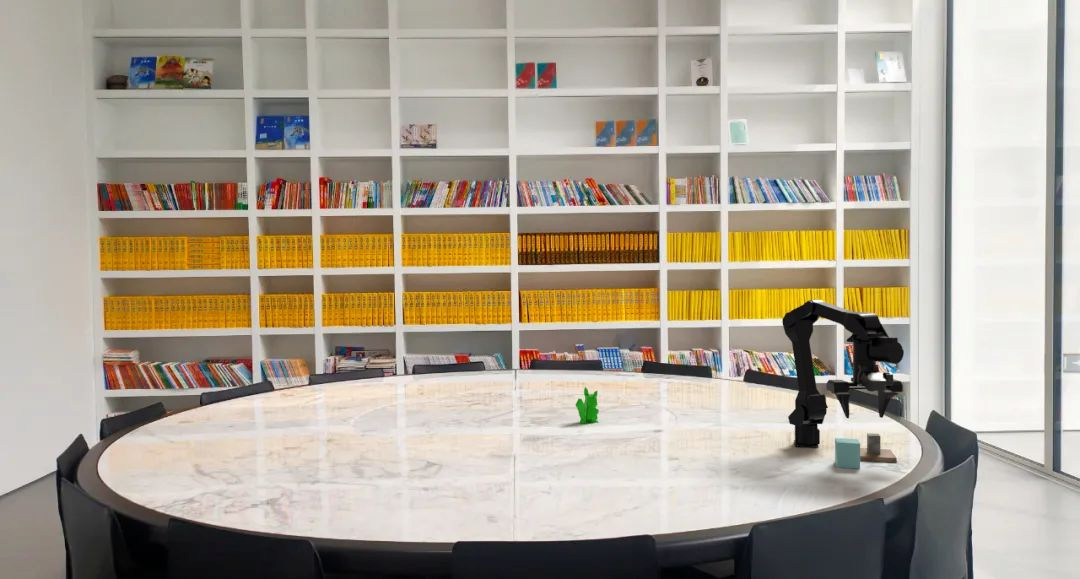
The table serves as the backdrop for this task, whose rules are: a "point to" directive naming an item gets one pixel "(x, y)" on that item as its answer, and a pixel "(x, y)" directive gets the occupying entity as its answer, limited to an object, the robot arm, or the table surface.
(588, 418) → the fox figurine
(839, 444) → the teal block
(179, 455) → the table surface
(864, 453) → the post board
